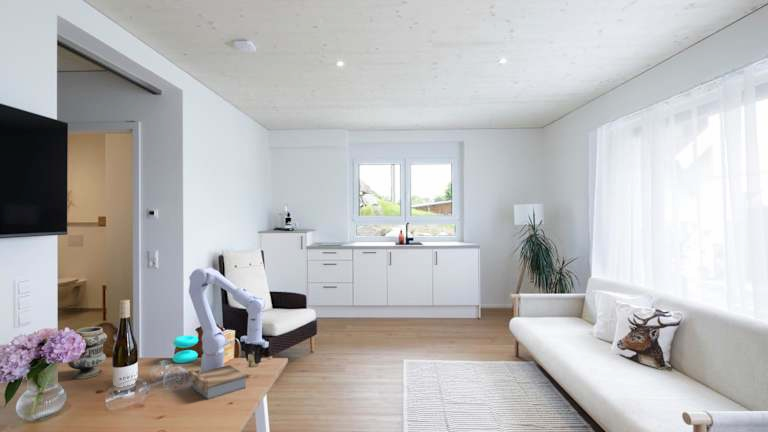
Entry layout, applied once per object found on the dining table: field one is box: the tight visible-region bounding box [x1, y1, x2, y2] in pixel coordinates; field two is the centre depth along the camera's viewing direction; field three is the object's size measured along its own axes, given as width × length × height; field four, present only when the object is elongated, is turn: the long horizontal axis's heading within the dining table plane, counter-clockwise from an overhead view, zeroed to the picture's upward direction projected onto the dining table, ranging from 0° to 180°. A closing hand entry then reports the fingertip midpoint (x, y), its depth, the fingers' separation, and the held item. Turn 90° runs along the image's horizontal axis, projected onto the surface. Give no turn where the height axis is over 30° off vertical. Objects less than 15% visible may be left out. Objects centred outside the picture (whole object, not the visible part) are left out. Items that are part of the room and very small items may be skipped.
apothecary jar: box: [67, 326, 108, 380], centre depth 152 cm, size 12×12×18 cm
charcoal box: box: [191, 377, 247, 400], centre depth 143 cm, size 14×14×4 cm
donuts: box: [172, 334, 199, 364], centre depth 171 cm, size 10×10×10 cm
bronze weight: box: [247, 351, 260, 368], centre depth 155 cm, size 4×4×5 cm
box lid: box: [188, 364, 248, 392], centre depth 142 cm, size 14×16×3 cm
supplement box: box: [221, 329, 236, 365], centre depth 171 cm, size 8×5×13 cm, turn 168°
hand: (253, 361), depth 155 cm, fingers closed on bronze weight, 4 cm apart
